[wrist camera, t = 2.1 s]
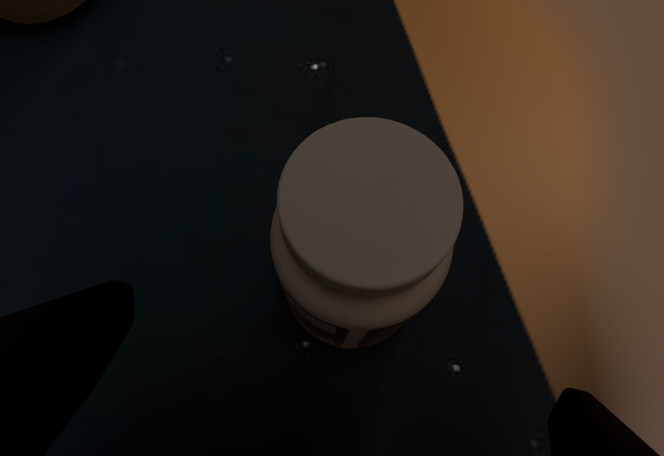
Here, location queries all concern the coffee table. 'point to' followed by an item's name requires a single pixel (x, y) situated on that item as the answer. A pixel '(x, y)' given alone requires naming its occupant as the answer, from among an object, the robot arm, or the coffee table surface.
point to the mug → (36, 10)
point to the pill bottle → (364, 229)
